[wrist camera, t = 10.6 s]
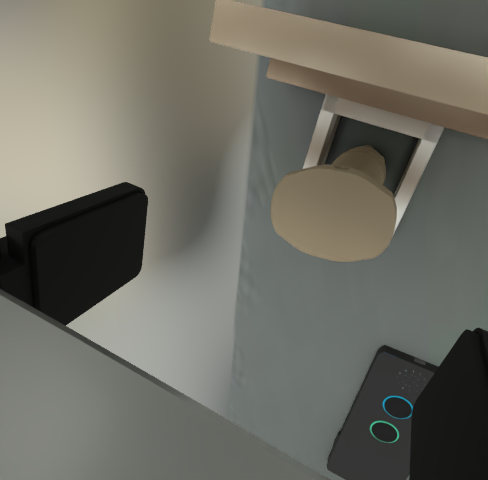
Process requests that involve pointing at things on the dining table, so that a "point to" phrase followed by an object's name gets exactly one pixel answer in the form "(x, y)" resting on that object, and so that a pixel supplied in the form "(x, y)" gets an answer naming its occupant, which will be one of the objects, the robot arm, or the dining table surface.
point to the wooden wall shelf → (364, 80)
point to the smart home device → (381, 419)
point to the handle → (337, 207)
